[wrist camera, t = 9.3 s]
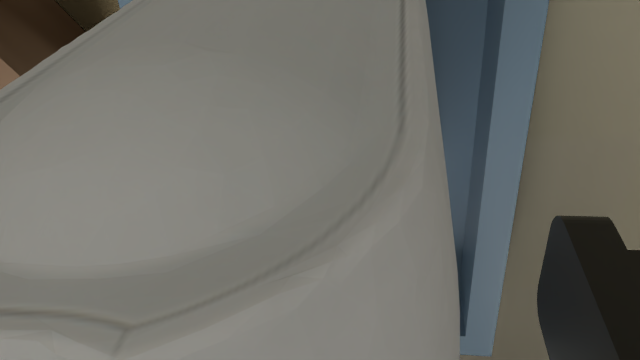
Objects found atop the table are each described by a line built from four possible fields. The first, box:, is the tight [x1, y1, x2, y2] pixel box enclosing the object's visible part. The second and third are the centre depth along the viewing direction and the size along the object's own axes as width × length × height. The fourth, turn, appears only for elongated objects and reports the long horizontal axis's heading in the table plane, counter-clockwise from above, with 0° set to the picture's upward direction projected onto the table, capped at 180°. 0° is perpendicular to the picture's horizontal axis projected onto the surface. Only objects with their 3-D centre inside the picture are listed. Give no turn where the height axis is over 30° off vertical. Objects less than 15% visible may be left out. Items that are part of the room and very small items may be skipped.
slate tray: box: [118, 0, 549, 356], centre depth 13 cm, size 14×9×2 cm, turn 5°
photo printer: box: [0, 0, 460, 360], centre depth 9 cm, size 10×4×12 cm, turn 5°
